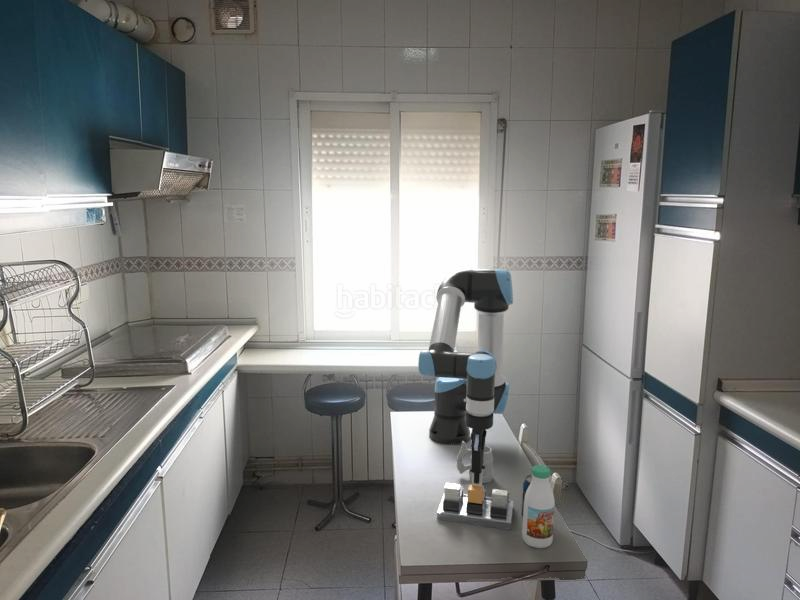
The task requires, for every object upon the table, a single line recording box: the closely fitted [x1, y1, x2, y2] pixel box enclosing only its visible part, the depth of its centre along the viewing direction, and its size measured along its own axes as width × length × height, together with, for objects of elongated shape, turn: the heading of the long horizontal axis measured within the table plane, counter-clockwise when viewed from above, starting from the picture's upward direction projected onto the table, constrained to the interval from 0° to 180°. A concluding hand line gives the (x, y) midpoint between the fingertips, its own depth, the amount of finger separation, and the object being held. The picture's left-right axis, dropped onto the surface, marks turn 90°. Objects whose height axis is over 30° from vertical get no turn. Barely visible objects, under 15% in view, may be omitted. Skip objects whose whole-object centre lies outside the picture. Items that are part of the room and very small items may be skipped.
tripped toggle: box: [467, 484, 485, 504], centre depth 160 cm, size 3×4×4 cm
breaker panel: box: [436, 482, 514, 531], centre depth 163 cm, size 12×20×9 cm, turn 76°
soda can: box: [521, 474, 532, 518], centre depth 159 cm, size 7×7×12 cm
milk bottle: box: [521, 464, 556, 549], centre depth 149 cm, size 8×8×20 cm
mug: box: [455, 441, 495, 484], centre depth 183 cm, size 8×12×12 cm, turn 84°
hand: (476, 491), depth 162 cm, fingers closed
